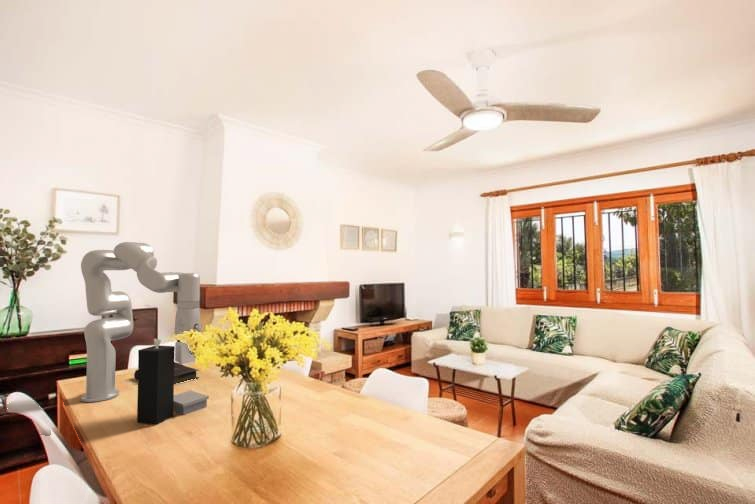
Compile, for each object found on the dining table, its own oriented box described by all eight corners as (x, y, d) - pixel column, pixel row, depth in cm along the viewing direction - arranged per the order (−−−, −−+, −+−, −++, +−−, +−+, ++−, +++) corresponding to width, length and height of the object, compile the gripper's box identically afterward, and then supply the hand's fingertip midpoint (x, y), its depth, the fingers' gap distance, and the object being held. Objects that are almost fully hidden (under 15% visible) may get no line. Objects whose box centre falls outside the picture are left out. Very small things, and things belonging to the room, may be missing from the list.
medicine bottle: (194, 357, 146) (195, 326, 147) (201, 361, 141) (201, 329, 142) (174, 361, 141) (175, 329, 142) (180, 364, 136) (181, 331, 137)
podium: (164, 408, 140) (164, 398, 140) (190, 400, 148) (190, 390, 148) (183, 415, 133) (183, 404, 133) (208, 406, 142) (208, 396, 142)
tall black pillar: (156, 425, 125) (158, 341, 126) (136, 423, 127) (138, 340, 128) (173, 416, 133) (175, 337, 134) (154, 414, 135) (156, 336, 136)
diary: (160, 390, 162) (160, 378, 162) (134, 380, 177) (134, 369, 177) (201, 379, 178) (201, 368, 178) (174, 370, 192) (174, 360, 192)
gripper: (166, 305, 143) (165, 351, 143) (192, 307, 134) (191, 356, 134) (185, 303, 150) (184, 347, 149) (211, 305, 141) (210, 352, 140)
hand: (187, 351), depth 141 cm, fingers closed on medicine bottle, 8 cm apart
